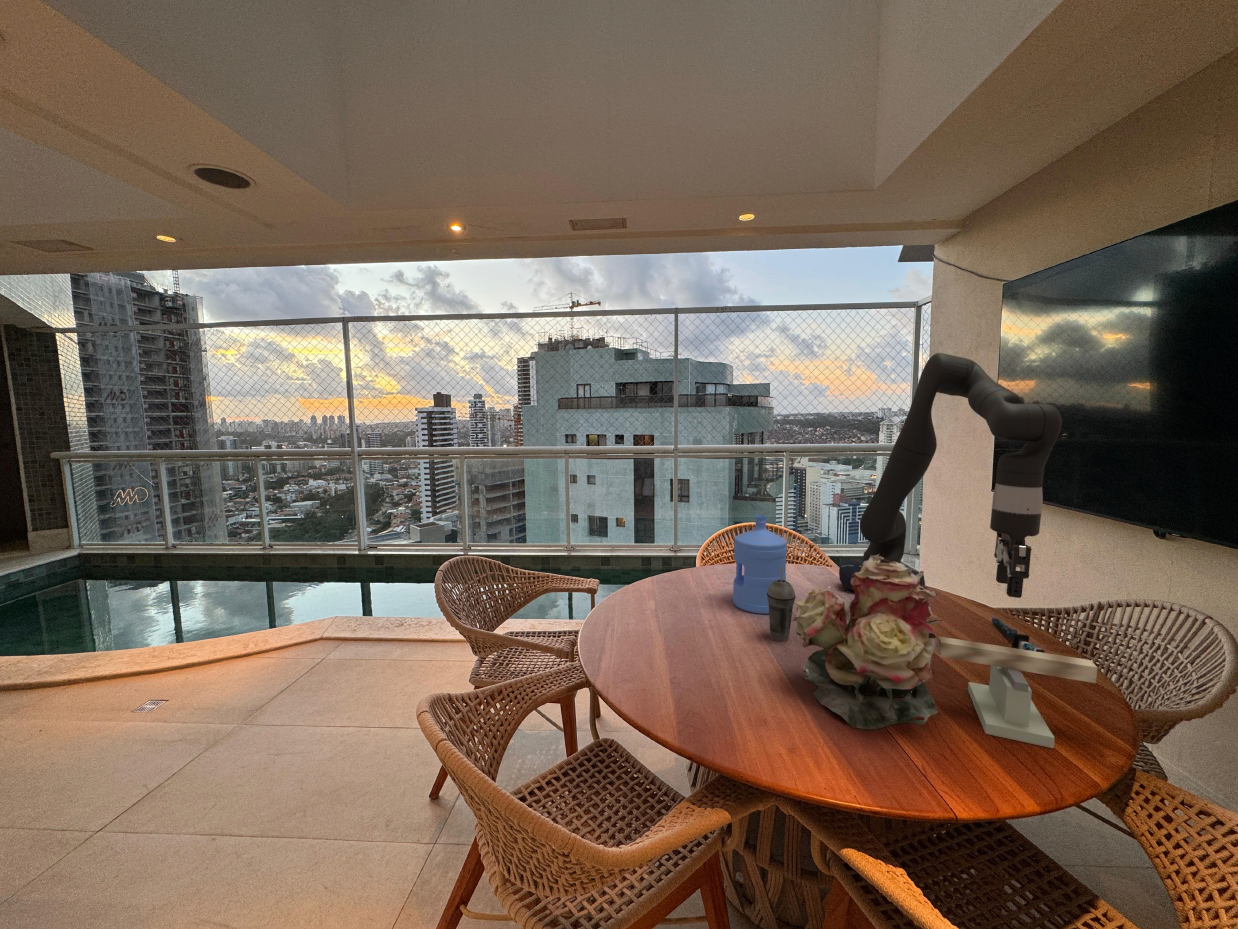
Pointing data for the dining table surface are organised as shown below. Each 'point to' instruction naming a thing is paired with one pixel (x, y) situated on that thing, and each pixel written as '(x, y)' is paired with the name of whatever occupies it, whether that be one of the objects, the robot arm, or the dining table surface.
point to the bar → (1018, 659)
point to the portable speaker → (854, 567)
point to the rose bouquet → (871, 646)
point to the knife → (1015, 637)
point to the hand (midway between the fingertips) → (1007, 589)
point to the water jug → (757, 566)
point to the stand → (1009, 708)
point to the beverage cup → (780, 608)
